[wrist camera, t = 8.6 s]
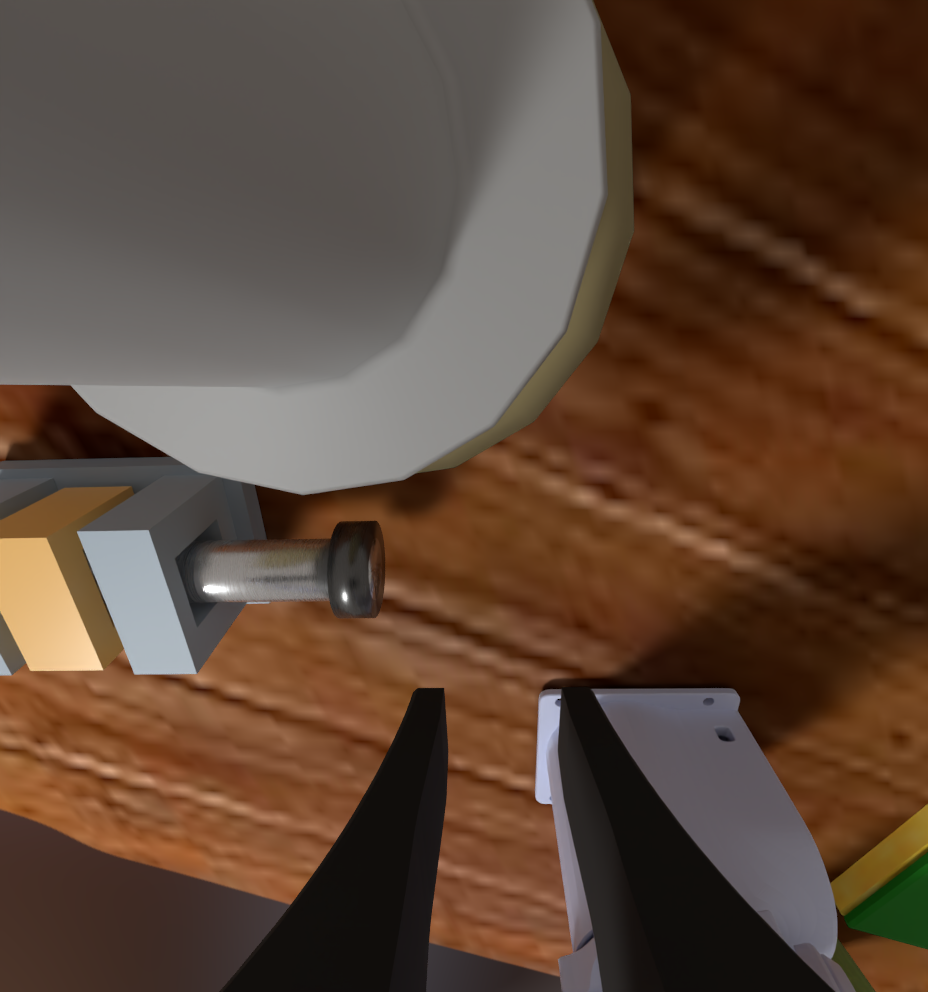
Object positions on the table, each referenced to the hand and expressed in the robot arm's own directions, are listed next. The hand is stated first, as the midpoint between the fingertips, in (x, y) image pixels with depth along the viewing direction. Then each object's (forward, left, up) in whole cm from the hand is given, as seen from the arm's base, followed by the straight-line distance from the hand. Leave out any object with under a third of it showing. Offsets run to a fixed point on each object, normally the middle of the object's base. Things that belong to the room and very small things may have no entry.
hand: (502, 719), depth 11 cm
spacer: (+15, 0, -8) cm, 17 cm away
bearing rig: (+15, 0, -10) cm, 18 cm away
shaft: (+10, 0, -8) cm, 13 cm away
